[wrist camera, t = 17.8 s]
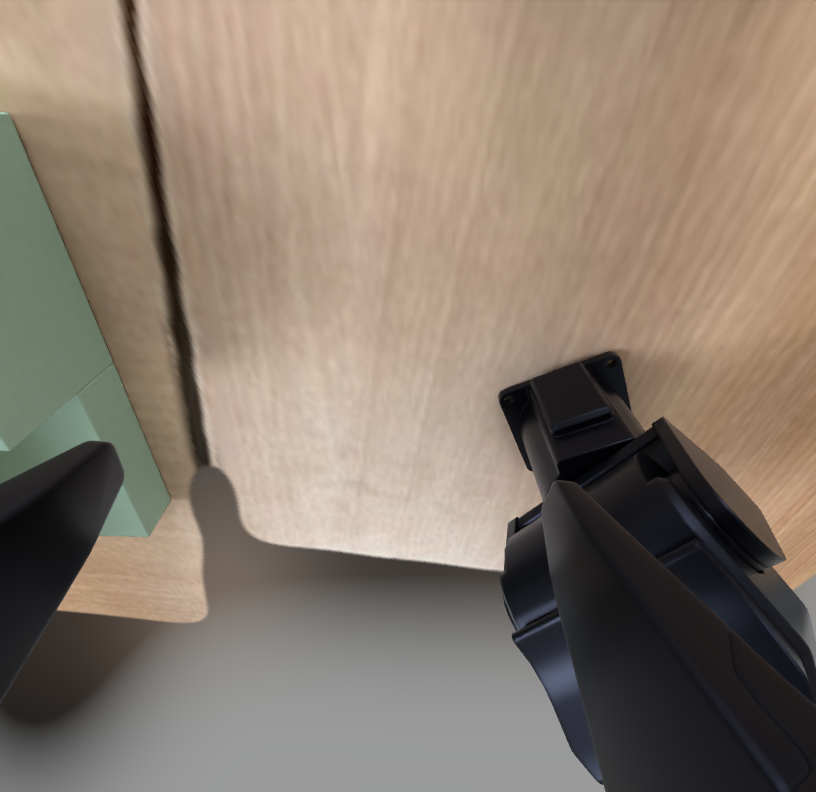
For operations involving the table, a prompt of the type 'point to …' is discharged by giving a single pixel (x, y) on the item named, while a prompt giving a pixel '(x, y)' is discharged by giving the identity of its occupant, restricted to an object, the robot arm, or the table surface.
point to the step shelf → (59, 355)
